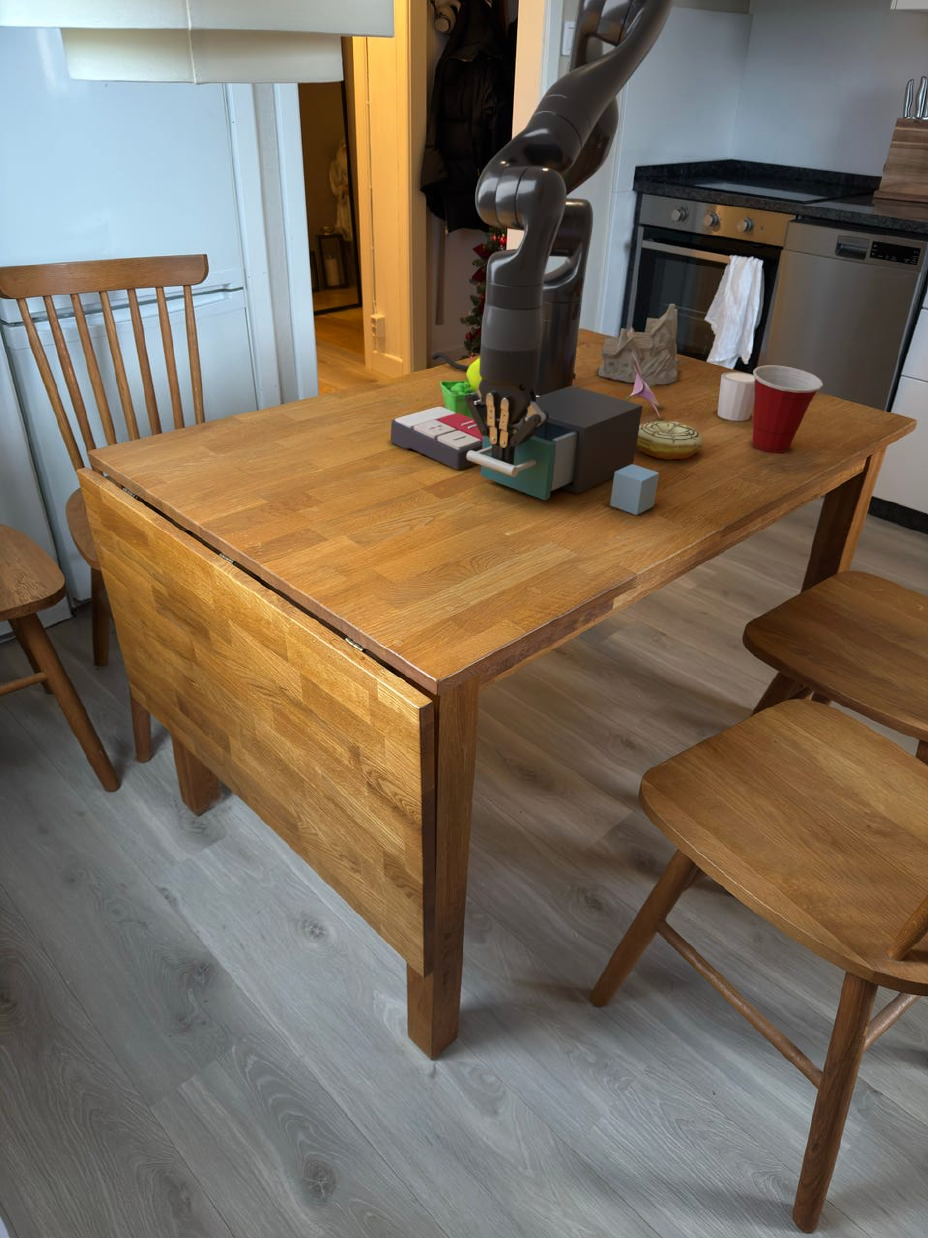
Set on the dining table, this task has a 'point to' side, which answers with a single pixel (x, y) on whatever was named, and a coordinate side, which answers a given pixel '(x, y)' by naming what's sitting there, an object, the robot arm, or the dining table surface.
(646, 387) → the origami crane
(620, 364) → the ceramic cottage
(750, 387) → the white faceted cylinder
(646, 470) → the blue block
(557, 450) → the drawer
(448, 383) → the fruit basket
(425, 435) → the calculator
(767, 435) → the plastic cup
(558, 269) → the robot arm
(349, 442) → the dining table surface
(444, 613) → the dining table surface
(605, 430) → the cabinet
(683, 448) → the decorated donut
